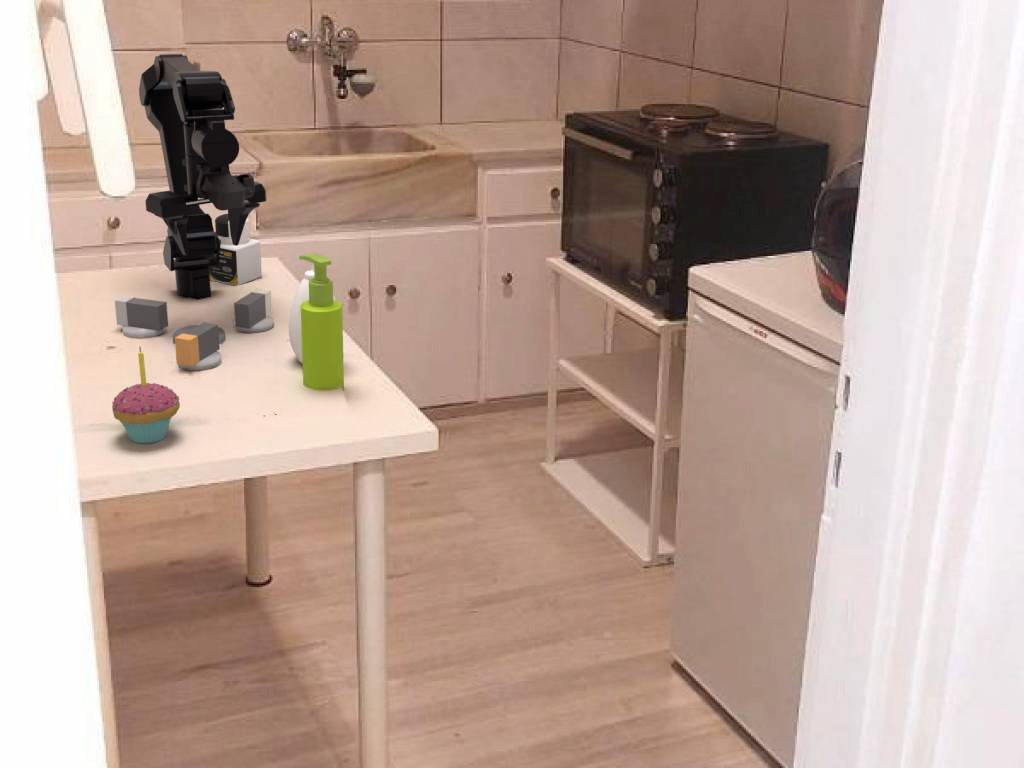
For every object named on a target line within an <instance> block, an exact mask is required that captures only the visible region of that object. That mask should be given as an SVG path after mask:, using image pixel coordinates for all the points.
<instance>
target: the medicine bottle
mask: <svg viewBox="0 0 1024 768" xmlns="http://www.w3.org/2000/svg"><path fill="white" fill-rule="evenodd" d="M214 224H215V225H214V226H215V229H214V230H215V232H216V233H217V235H218V238H219V239H220V240H221V247H220V263H219V266H210V267H209V275H210V281H213V282H217V283H222V284H226V285H230V286H237V287H238V286H242V285H244V284H247V283H249V282H252V281H255V280H257V279H260V278H262V275H263V274H262V273H263V272H262V270H263V269H262V253H261V252H262V250H261V248H262V247H261V241H260V240H258V239H253V238H250V234H251V233H250V219H249V217H247V220H246V222H245V225H244V228H243V231H242V235H241V238H240V241H239V244H238V245H237V246H235V245H233V243H232V239H231V233H230V225H229V217H228V213H224V214H221V215H218V216H217V217H216V218H215V219H214Z"/></svg>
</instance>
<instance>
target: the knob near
mask: <svg viewBox="0 0 1024 768" xmlns="http://www.w3.org/2000/svg"><path fill="white" fill-rule="evenodd" d="M167 304H168V302H166V301H160V300H153V299H145V298H140V297H139V298H138V297H135V296H129V295H128V296H127V295H123V296H120V297H118V298H117V299H115V300H114V306H115V319H116V325H117V326H121V327H122V328H121V329H122V334H123V335H124V337H127V338H128V337H129V338H131V339H133V338H134V339H148V338H154V337H157V336H160V335H162V334H163V333H164V332H165V329H166V328H167V327H169V317H168V305H167Z"/></svg>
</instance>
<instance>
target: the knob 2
mask: <svg viewBox="0 0 1024 768" xmlns="http://www.w3.org/2000/svg"><path fill="white" fill-rule="evenodd" d="M271 291H272V290H270V289H264V288H254V289H253V290H252V291H250V292H249V293H248V294H247V295H246V294H245V296H243V297H242V298H240V299H237V300H236V301H235V302H233V306H234V319H233V329H234V330H235V331H238V332H241V333H250V334H251V333H262V332H264V333H265V332H267V331H270V330H271V329H273V328H274V326H275V321H274V317H273V316H271V315H272V314H273V313H272V312H273V311H272V292H271Z"/></svg>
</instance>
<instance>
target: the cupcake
mask: <svg viewBox="0 0 1024 768" xmlns="http://www.w3.org/2000/svg"><path fill="white" fill-rule="evenodd" d="M138 348H139V352H138V353H137V354H138V355H137V356H138V363H139V364H138V365H139V375H140V383H138V384H137V383H136V384H134V385H131V386H129V387H126V388H124V389H122V391H120V392H118V394H117V395H116V396H115V397H114V398H113V400H112V402H111V403H112V414H113V417H114V418H115V420H117V421H119V422H120V423H121V425H122V426H123V427H124V429H125V431H126V434H127V436H128V437H129V440H130V441H132V442H134V443H138V444H151V443H156V442H157V443H158V442H159V441H163V440H164V438H166V436H168V435H167V433H168V429H169V425H170V422H171V419H172V417H174V416H175V415H177V413H178V411H179V409H180V407H181V403H180V396H179V395H177V393H176V392H174V391H173V390H174V389H172V388H169V387H168V386H167V385H166V386H164V385H163V384H159V383H150V382H147V377H146V375H147V374H146V367H145V366H146V365H145V357H144V352H143V351H142V346H141V345H139V347H138Z"/></svg>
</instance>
